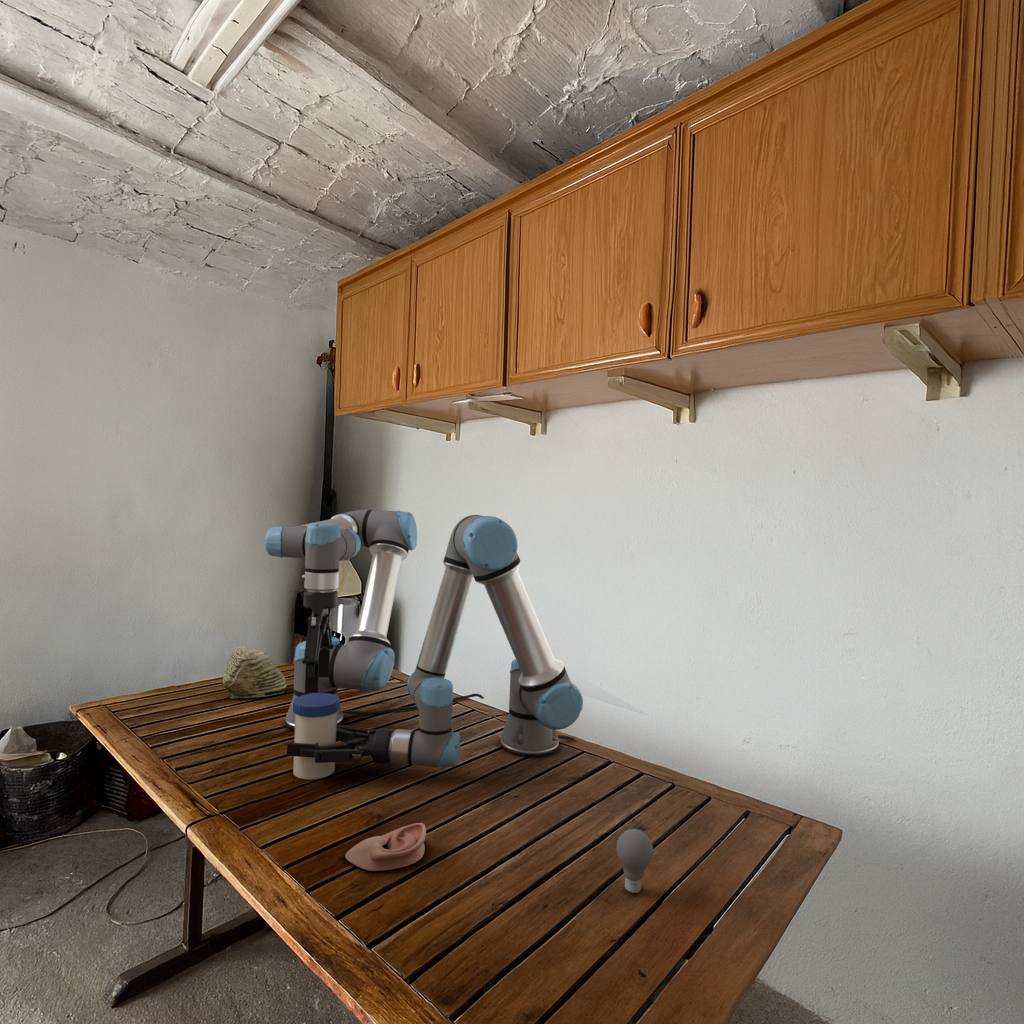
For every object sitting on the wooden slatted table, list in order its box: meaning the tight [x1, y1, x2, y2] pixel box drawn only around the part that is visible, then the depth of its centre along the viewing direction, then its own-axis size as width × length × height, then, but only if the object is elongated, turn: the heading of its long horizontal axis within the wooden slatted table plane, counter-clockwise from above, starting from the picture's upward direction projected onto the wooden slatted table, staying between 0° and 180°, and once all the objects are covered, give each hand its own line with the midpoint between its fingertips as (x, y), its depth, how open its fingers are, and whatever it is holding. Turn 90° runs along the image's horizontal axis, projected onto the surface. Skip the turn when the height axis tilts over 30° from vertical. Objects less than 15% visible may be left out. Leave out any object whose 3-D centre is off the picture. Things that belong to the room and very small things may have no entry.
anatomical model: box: [344, 822, 427, 872], centre depth 113 cm, size 13×4×12 cm
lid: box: [293, 693, 341, 717], centre depth 146 cm, size 10×10×2 cm
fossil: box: [222, 646, 288, 699], centre depth 198 cm, size 9×18×15 cm, turn 132°
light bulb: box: [615, 828, 654, 894], centre depth 106 cm, size 6×6×10 cm
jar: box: [292, 712, 338, 780], centre depth 146 cm, size 9×9×16 cm
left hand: (317, 684), depth 146 cm, fingers open, 11 cm apart
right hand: (296, 740), depth 146 cm, fingers closed on jar, 9 cm apart
